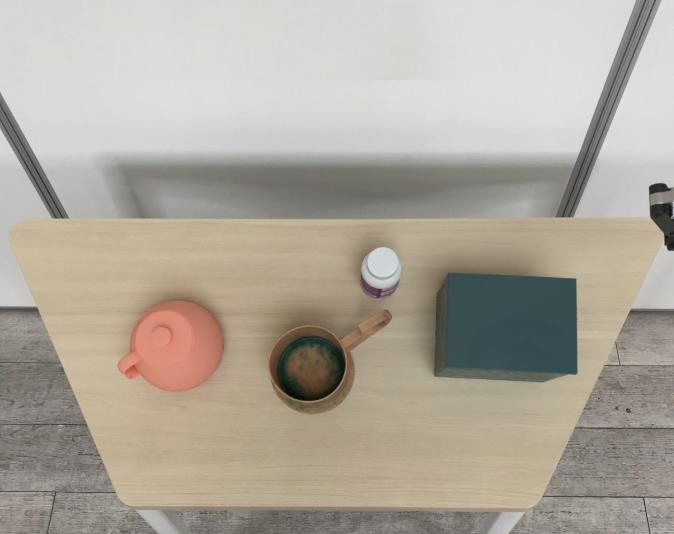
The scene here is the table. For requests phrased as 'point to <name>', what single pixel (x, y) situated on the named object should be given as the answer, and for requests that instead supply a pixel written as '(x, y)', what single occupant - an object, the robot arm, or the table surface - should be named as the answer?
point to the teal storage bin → (466, 373)
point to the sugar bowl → (174, 346)
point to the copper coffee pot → (317, 364)
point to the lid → (511, 323)
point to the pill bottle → (380, 273)
